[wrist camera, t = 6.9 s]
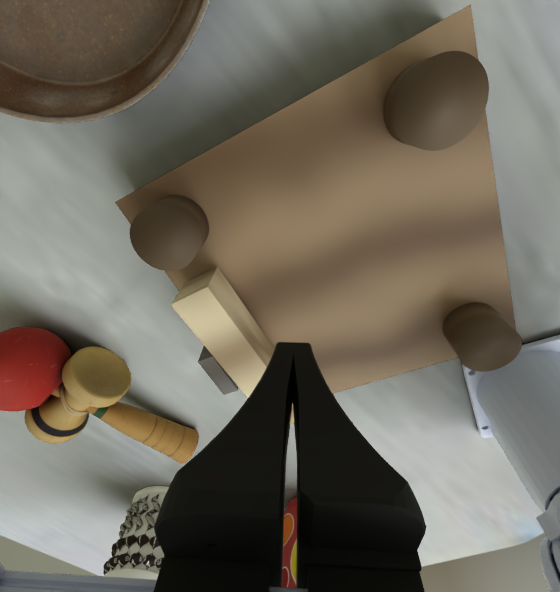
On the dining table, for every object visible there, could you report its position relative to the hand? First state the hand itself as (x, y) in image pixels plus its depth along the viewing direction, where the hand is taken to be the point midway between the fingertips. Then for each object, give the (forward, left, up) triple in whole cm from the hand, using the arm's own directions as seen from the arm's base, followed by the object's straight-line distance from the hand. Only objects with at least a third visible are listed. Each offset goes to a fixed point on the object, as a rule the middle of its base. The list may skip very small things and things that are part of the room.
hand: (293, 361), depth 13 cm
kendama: (-4, +19, -10) cm, 22 cm away
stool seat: (-1, -2, -9) cm, 9 cm away
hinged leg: (-3, +4, -6) cm, 8 cm away
